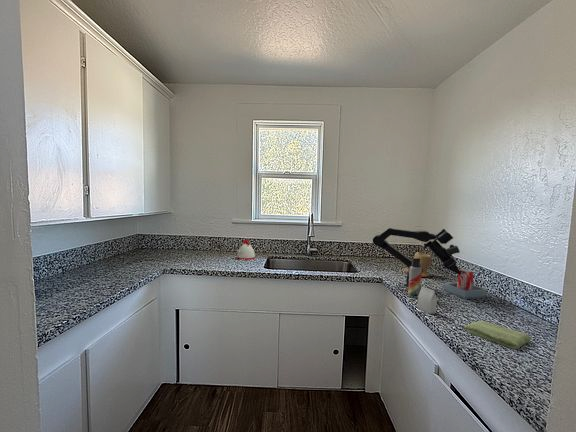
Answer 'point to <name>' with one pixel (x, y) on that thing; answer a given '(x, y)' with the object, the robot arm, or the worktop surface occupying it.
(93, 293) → the worktop surface
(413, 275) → the lotion bottle
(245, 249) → the white rounded cone
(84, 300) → the worktop surface
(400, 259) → the robot arm
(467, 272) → the soda can
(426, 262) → the stone cup
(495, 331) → the washcloth
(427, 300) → the tea bag
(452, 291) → the bin
